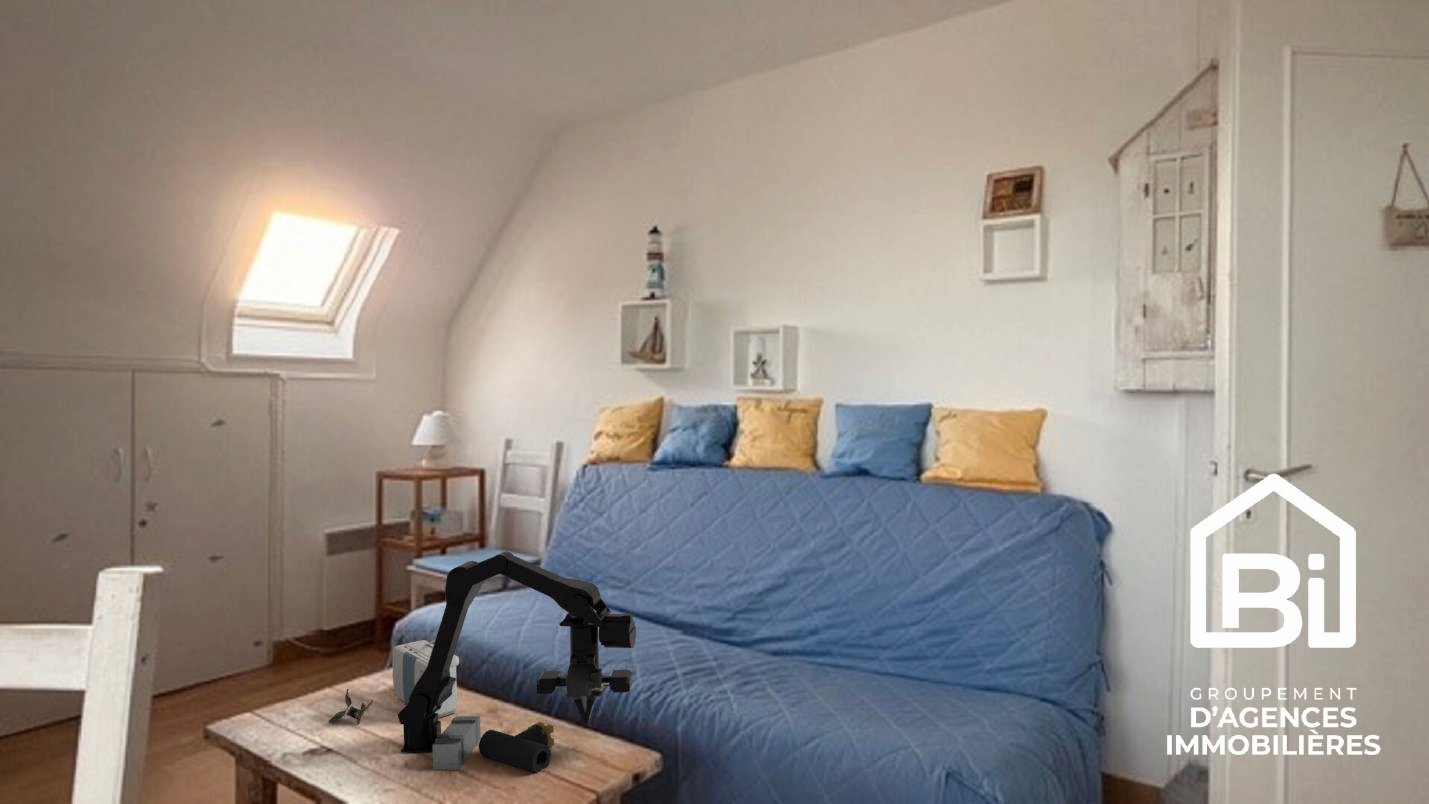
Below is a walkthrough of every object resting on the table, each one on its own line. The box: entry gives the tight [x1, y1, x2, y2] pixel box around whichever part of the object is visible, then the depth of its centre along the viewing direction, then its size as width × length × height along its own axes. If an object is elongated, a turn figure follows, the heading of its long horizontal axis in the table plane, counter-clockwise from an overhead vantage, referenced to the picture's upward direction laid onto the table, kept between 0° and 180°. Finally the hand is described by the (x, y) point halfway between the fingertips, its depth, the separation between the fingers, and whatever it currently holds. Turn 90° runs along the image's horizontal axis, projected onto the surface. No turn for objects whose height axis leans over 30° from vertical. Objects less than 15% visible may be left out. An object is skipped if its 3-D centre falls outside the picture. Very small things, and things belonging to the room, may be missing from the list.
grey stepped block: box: [432, 715, 482, 771], centre depth 164 cm, size 5×14×5 cm, turn 179°
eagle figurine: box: [328, 688, 374, 725], centre depth 182 cm, size 8×7×9 cm
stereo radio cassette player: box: [391, 637, 460, 719], centre depth 190 cm, size 21×8×20 cm, turn 43°
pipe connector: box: [478, 721, 555, 773], centre depth 162 cm, size 12×5×15 cm
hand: (586, 723), depth 163 cm, fingers closed
